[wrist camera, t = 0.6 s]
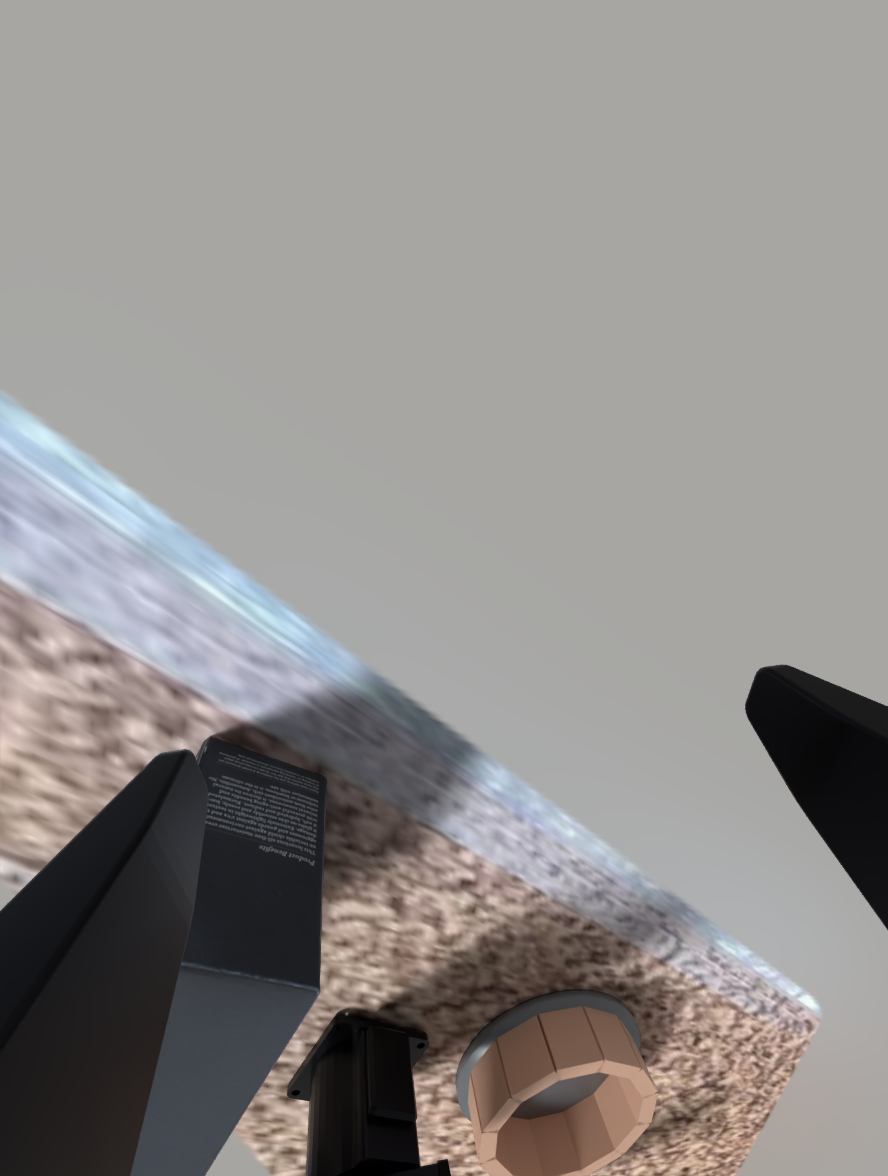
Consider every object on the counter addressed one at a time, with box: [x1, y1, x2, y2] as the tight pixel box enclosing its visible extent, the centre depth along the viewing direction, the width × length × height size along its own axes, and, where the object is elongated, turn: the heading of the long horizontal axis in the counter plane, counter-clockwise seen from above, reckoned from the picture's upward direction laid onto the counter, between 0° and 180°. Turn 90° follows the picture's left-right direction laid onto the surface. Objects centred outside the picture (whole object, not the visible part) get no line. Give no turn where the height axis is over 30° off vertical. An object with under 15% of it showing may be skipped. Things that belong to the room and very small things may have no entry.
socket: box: [456, 990, 658, 1176], centre depth 33 cm, size 13×13×4 cm
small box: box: [131, 738, 327, 1176], centre depth 20 cm, size 11×6×10 cm, turn 150°
